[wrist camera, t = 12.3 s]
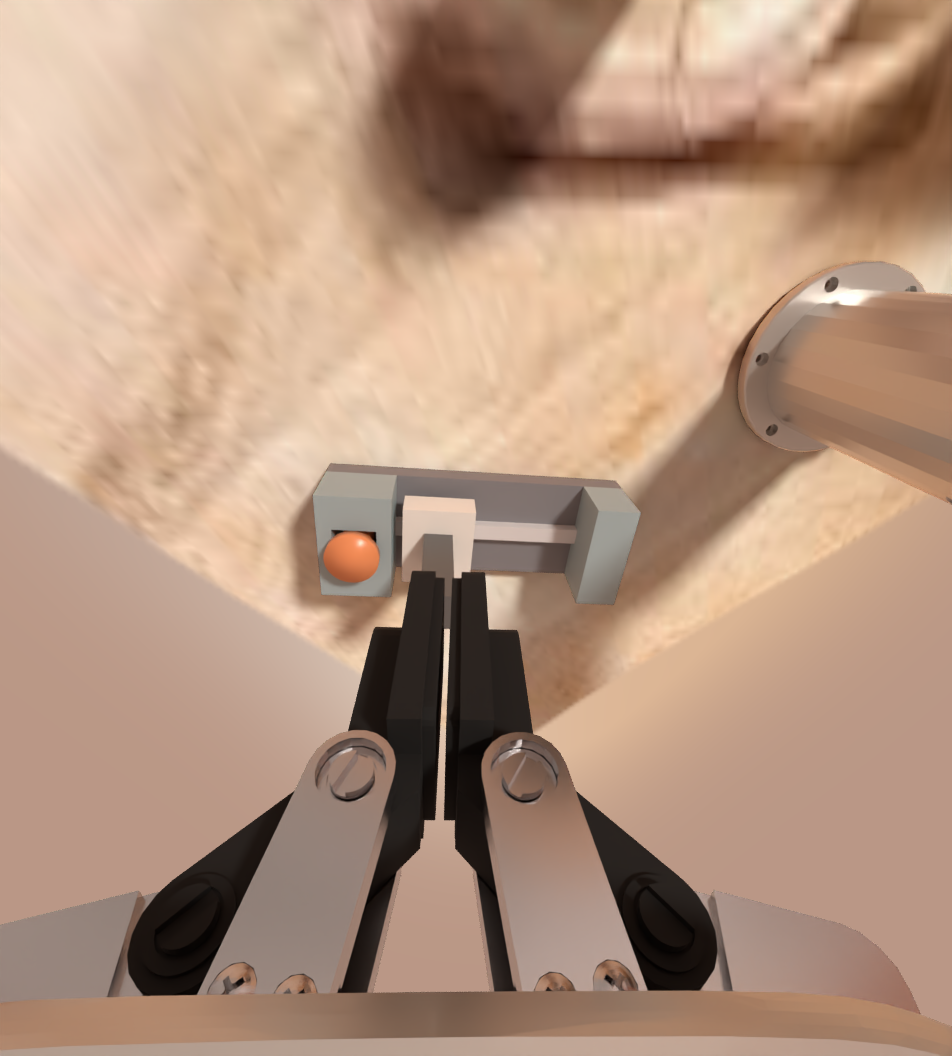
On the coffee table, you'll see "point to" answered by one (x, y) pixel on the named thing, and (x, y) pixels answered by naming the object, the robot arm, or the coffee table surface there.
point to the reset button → (352, 556)
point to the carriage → (438, 539)
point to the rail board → (486, 524)
